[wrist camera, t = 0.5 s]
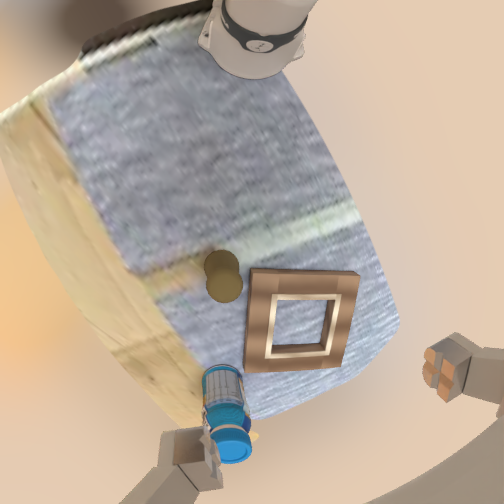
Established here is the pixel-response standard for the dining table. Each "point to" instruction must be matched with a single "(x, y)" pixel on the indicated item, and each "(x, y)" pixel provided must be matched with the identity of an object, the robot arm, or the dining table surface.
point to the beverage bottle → (226, 413)
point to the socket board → (297, 288)
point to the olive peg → (223, 276)
